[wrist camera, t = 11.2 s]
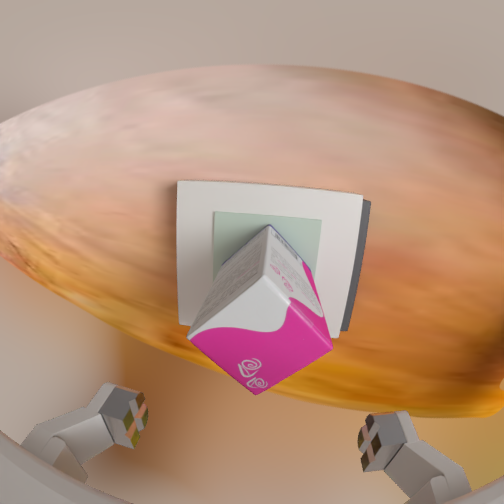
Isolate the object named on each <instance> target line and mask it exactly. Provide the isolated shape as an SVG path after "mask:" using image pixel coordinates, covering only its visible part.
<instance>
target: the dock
mask: <svg viewBox="0 0 504 504" xmlns="http://www.w3.org/2000/svg"><path fill="white" fill-rule="evenodd" d="M370 206H371V202H370V201H367V200H364V199H363V195H360V194H357V193H352V192H345V191H336V190H328V189H319V188H310V187H300V186H289V185H277V184H265V183H250V182H234V181H213V180H180V181H178V182H177V230H176V242H177V290H178V313H179V324H180V325H187V326H192V324H193V322H194V320H195V318H196V316H197V314H198V312H199V310H200V308H201V306H202V304H203V302H204V300H205V298H206V296H207V294H208V292H209V290H210V288H211V286H212V284H213V282H214V280H215V278H216V276H217V274H218V272H219V270H220V268H221V266H222V264H223V263H224V262H225V261H227V260H228V259H229V258H230V257H231V256H232V255H234V254H235V253H236V252H237V251H238V250H239V249H240V248H242V247H243V246H244V245H245V244H246V243H247V242H249V241H250V240H251V239H252V238H253V237H254V236H256V235H257V234H258V233H259V232H260V231H261V230H263V229H264V228H265V227H266V226H267V225H269V224H271V225H272V226H273V228H274V229H275V230H276V231H277V232H278V233H279V234H280V235H281V236H282V237H283V238H284V239H285V240H286V242H287V243H288V244H289V245H290V246H291V247H292V248H293V249H294V251H295V252H296V253H297V254H298V255H299V256H300V257H301V259H302V260H303V261H304V262H305V263H306V264H307V266H308V267H309V268H310V270H311V273H312V276H313V279H314V283H315V286H316V289H317V293H318V296H319V299H320V303H321V306H322V309H323V313H324V316H325V320H326V323H327V327H328V330H329V334H330V337H331V338H338V337H339V333H340V331H348V327H349V322H350V318H351V314H352V310H353V305H354V301H355V296H356V291H357V286H358V281H359V276H360V271H361V266H362V260H363V254H364V248H365V242H366V236H367V229H368V222H369V214H370Z"/></svg>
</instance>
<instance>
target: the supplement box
mask: <svg viewBox="0 0 504 504" xmlns="http://www.w3.org/2000/svg"><path fill="white" fill-rule="evenodd" d="M187 339H188V340H190V341H191V342H192V343H193V344H194V345H195V346H196V347H197V348H199V349H200V350H201V351H202V352H203V353H204V354H205V355H206V356H208V357H209V358H210V359H211V360H212V361H213V362H215V363H216V364H217V365H218V366H219V367H221V368H222V369H223V370H224V371H226V372H227V373H228V374H229V375H230V376H232V377H233V378H234V379H235V380H237V381H238V382H239V383H240V384H242V385H243V386H244V387H246V388H247V389H248V390H249V391H250V392H252V393H253V394H255V395H258V394H260V393H261V392H263V391H265V390H267V389H269V388H271V387H272V386H274V385H275V384H277V383H279V382H280V381H282V380H284V379H285V378H287V377H288V376H290V375H292V374H293V373H295V372H297V371H299V370H300V369H302V368H304V367H305V366H307V365H309V364H310V363H312V362H313V361H315V360H317V359H318V358H320V357H321V356H323V355H324V354H326V353H328V352H329V351H331V350H332V349H333V345H332V341H331V337H330V334H329V330H328V327H327V323H326V320H325V316H324V313H323V309H322V306H321V303H320V299H319V296H318V293H317V289H316V286H315V283H314V279H313V276H312V273H311V270H310V268H309V267H308V266H307V264H306V263H305V262H304V261H303V260H302V259H301V257H300V256H299V255H298V254H297V253H296V252H295V251H294V249H293V248H292V247H291V246H290V245H289V244H288V243H287V242H286V240H285V239H284V238H283V237H282V236H281V235H280V234H279V233H278V232H277V231H276V230H275V229H274V228H273V226H272V225H271V224H269V225H267V226H266V227H265V228H264V229H263V230H261V231H260V232H259V233H258V234H257V235H256V236H254V237H253V238H252V239H251V240H250V241H249V242H247V243H246V244H245V245H244V246H243V247H242V248H240V249H239V250H238V251H237V252H236V253H235V254H234V255H232V256H231V257H230V258H229V259H228V260H227V261H225V262H224V263H223V264H222V266H221V268H220V270H219V272H218V274H217V276H216V278H215V280H214V282H213V284H212V286H211V288H210V290H209V292H208V294H207V296H206V298H205V300H204V302H203V304H202V306H201V308H200V310H199V312H198V314H197V316H196V318H195V320H194V322H193V324H192V326H191V328H190V330H189V332H188V334H187Z"/></svg>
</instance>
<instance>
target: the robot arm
mask: <svg viewBox="0 0 504 504" xmlns="http://www.w3.org/2000/svg"><path fill="white" fill-rule="evenodd" d="M144 400H145V397H144V394H143V393H142V392H139V391H136V390H132V389H129V388H126V387H123V386H119V385H116V384H113V383H110V382H106V383H104V384H103V385H102V387H101V388H100V389H99V391H98V392H97V393H96V395H95V396H94V397H93V399H92V400H91V401H90V403H89V404H88V406H87V407H86V408H85V407H81V408H79V409H76V410H74V411H71V412H69V413H66V414H64V415H61V416H58V417H56V418H53V419H51V420H48V421H45V422H43V423H40V424H37V425H36V426H35V427H34V428H33V430H32V431H31V432H30V433H29V435H28V436H27V437H26V439H25V440H24V441H23V442H22V444H21V445H19V444H18V443H16V442H15V441H14V440H12V439H11V438H9V437H8V436H7V435H6V434H4V433H3V432H2V431H1V430H0V504H133V503H130V502H127V501H124V500H122V499H119V498H116V497H114V496H112V495H109V494H107V493H104V492H102V491H100V490H98V489H95V488H93V487H91V486H89V485H87V484H85V482H86V480H87V478H88V474H87V473H86V471H85V470H84V469H83V467H82V466H81V464H83V463H84V462H86V461H88V460H89V459H91V458H93V457H94V456H96V455H98V454H99V453H101V452H102V451H104V450H106V449H107V448H109V447H110V446H112V445H114V443H116V444H119V445H122V446H126V447H129V448H132V449H135V447H136V444H137V442H138V440H139V438H140V435H139V431H141V430H142V429H144V428H145V426H146V424H147V420H148V408H147V406H146V405H145V404H144V403H143V402H144ZM365 421H366V425H364V426H363V427H362V428H361V430H360V432H359V435H358V448H359V450H360V451H361V452H362V453H363V456H362V458H361V463H362V468H363V472H369V471H377V470H384V472H385V473H386V474H387V475H388V476H389V477H390V478H391V479H392V480H393V481H394V482H395V483H396V484H397V485H398V486H399V487H400V488H401V489H402V490H403V492H404V493H406V494H407V496H408V497H409V498H410V499H409V500H408V501H407V502H406V503H405V504H504V475H503V476H501V477H500V478H498V479H496V480H494V481H492V482H490V483H488V484H486V485H484V486H482V487H480V488H478V489H476V490H474V491H472V490H471V488H470V485H469V482H468V480H467V477H466V475H465V472H464V470H463V468H462V467H461V466H459V465H458V464H457V463H455V462H454V461H452V460H451V459H449V458H448V457H446V456H445V455H443V454H442V453H441V452H439V451H438V450H436V449H435V448H433V447H432V446H430V445H429V444H428V443H426V442H425V441H423V440H421V441H420V440H419V438H418V435H417V433H416V430H415V428H414V426H413V423H412V421H411V418H410V416H409V414H408V412H407V411H406V410H404V411H396V412H385V413H374V414H369V415H368V416H367V418H366V420H365Z"/></svg>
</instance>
